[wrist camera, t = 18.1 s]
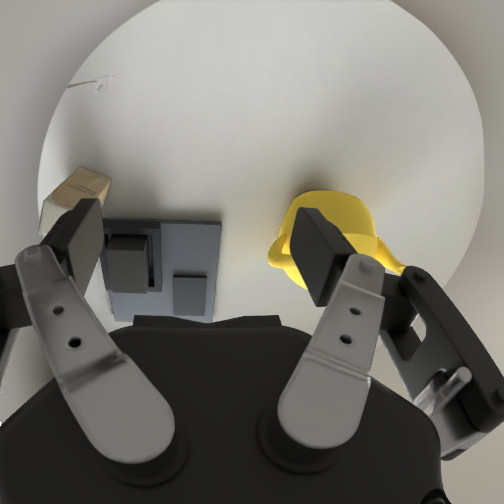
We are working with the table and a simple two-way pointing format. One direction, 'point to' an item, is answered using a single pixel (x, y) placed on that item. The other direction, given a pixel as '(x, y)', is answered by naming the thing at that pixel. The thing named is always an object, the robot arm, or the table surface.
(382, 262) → the teapot
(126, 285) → the black block
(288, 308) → the table surface
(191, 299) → the base pad
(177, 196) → the table surface
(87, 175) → the box
